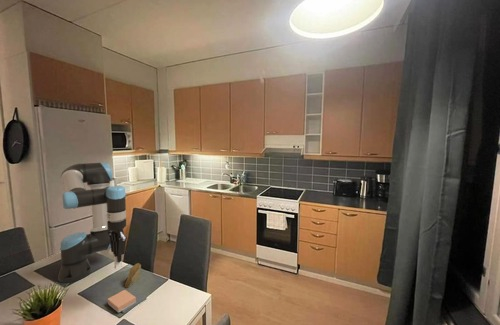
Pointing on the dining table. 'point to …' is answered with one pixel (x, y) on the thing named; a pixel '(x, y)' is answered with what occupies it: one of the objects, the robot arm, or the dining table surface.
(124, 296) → the tile
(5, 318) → the dining table surface
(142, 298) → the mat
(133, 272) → the rock
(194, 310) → the dining table surface
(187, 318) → the dining table surface
